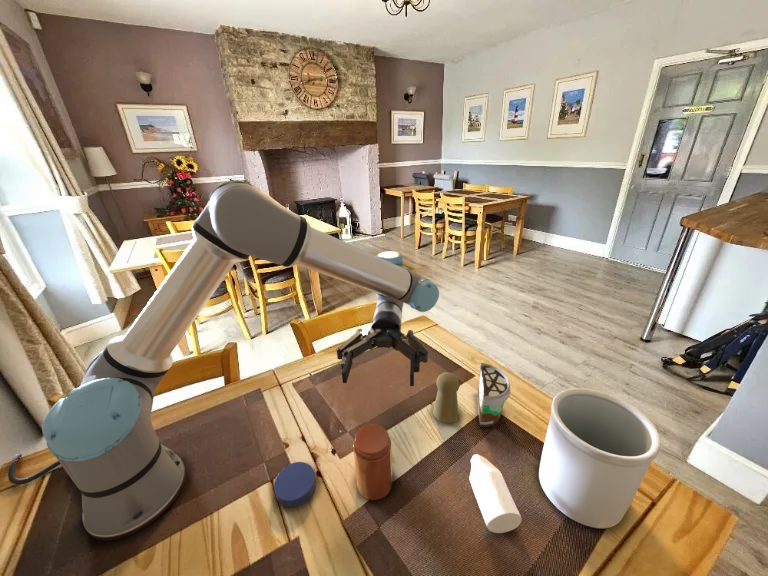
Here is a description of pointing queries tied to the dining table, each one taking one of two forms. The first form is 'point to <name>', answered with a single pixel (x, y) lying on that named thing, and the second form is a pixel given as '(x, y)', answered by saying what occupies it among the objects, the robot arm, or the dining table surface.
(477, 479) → the white dropper bottle
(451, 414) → the olive brown pawn
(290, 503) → the lid
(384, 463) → the jar
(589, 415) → the utensil holder
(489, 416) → the food container
